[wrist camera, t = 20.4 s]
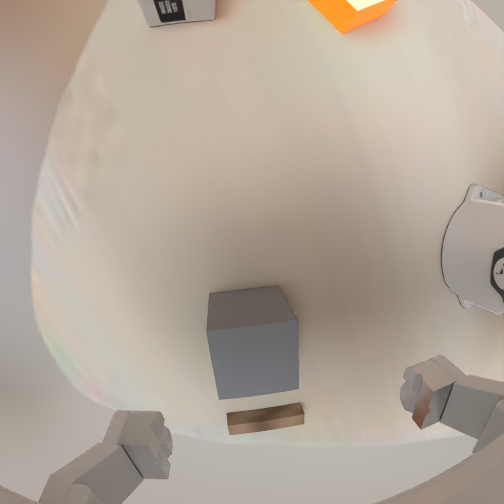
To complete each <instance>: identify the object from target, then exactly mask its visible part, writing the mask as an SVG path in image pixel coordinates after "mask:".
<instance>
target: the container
mask: <svg viewBox="0 0 504 504" xmlns="http://www.w3.org/2000/svg"><path fill="white" fill-rule="evenodd" d="M137 1H138V3H139V5H140V8H141V10H142V12H143V15H144V17H145V19H146V22H147V24H148V26H150V27H152V26H159V25H165V24H173V23H181V22H190V21H202V20H214V19H215V17H216V0H137Z"/></svg>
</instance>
